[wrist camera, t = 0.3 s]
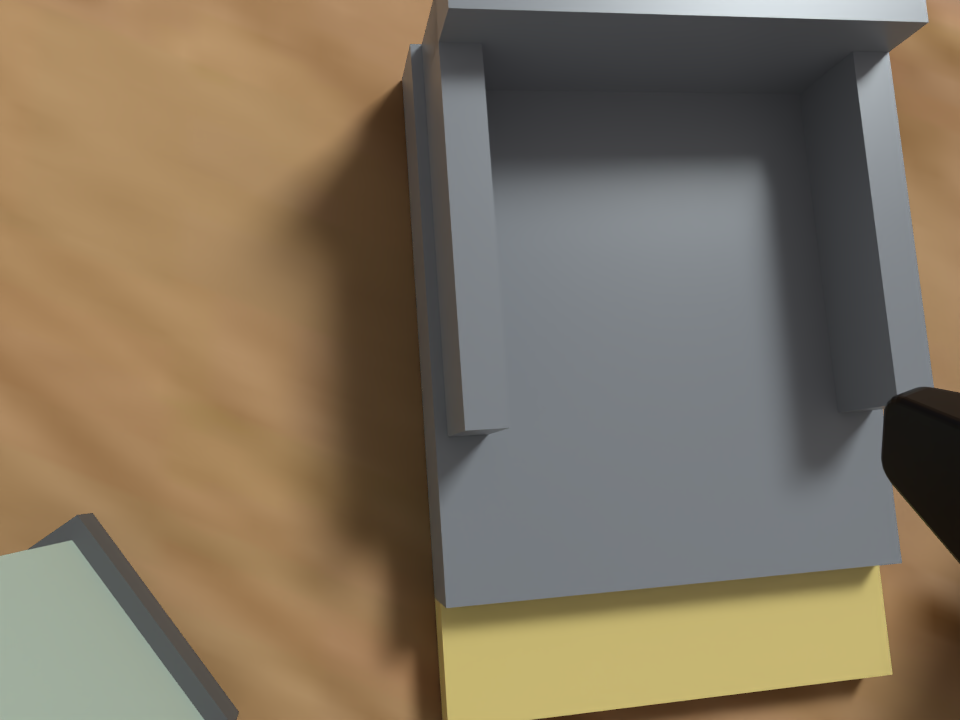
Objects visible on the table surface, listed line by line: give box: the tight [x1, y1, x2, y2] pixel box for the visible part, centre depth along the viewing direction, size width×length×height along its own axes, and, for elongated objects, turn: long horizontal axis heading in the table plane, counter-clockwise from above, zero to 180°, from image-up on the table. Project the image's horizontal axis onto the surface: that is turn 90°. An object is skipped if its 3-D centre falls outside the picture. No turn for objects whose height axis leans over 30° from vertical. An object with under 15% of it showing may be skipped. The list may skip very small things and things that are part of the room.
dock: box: [402, 0, 934, 720], centre depth 22 cm, size 17×12×6 cm
